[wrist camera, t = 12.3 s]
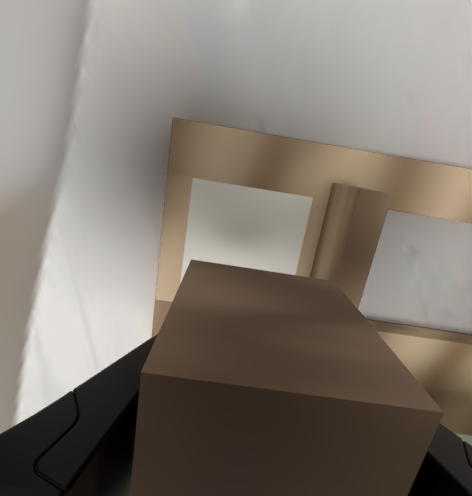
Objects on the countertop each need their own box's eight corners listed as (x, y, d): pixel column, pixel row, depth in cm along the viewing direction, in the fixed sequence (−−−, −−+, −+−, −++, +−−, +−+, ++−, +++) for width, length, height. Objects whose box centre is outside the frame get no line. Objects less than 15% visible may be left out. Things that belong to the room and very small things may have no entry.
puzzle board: (613, 196, 19) (758, 209, 14) (477, 466, 25) (541, 546, 20) (177, 121, 18) (153, 104, 12) (147, 426, 24) (122, 500, 19)
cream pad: (311, 197, 18) (313, 197, 17) (284, 317, 20) (285, 320, 19) (193, 177, 17) (192, 178, 17) (178, 302, 19) (177, 304, 19)
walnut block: (334, 281, 9) (443, 412, 4) (302, 397, 10) (361, 602, 6) (191, 259, 9) (140, 372, 4) (175, 381, 10) (122, 578, 5)
